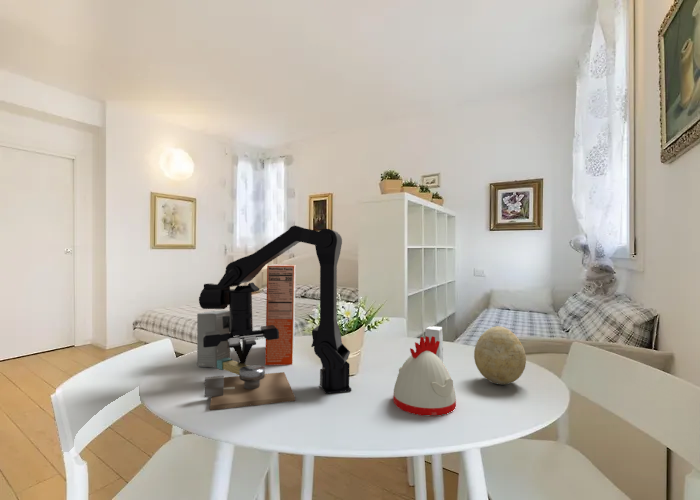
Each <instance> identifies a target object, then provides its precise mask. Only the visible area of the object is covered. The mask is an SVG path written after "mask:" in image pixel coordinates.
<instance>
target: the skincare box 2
mask: <svg viewBox="0 0 700 500" xmlns="http://www.w3.org/2000/svg"><path fill="white" fill-rule="evenodd" d="M424 335H425V337H426V336H427V337H429V341H431V337H432V336H433V337H435V343H436V341H440V344H439V347H438V350H437V353H436V356H438V357H439V358H440V360H441V361H442V362H443V363H444V347H443V346H444V345H443V344H444V343H443V342H444V340H443V338H444V337H443V326H435V325H433V326H432V325H430V326H428V327H426V328H425V334H424Z"/></svg>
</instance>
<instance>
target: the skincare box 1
mask: <svg viewBox="0 0 700 500" xmlns="http://www.w3.org/2000/svg"><path fill="white" fill-rule="evenodd" d="M196 314H197V315H196V316H197V318H196V319H197V322H196V323H197V325H196V326H197V328H196V329H197V333H196V335H197V337H196V338H197V339H196V341H197V342H196V343H197V344H196V346H197V347H196V351H197V355H196V356H197V358H196V361H197V362H196V364H197V367H204V368H215V369H217V360H218V359H223V358H230V359H231V348H229V346H228V341H221V342H220V344H219V345H218V346H215V347H206V348H205V347H203V334H204V333H205V332H212V331H219V333H220V334H227V333H230V332H229V328H226V329H223V321H222V317H223V316H230V312H229V310H211V311H203V312H198V313H196Z"/></svg>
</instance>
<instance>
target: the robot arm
mask: <svg viewBox="0 0 700 500" xmlns="http://www.w3.org/2000/svg"><path fill="white" fill-rule="evenodd" d="M299 243H304V244H309V245H312V246H315V252H316V257H317V259H318V262H319V268H320V269H319V283H320V284H319V324H318V325H317V326H316V327H315V328H313V329H312V330H311V335H312V343H311V348H313V350H314V354H315V355H316V356H317V357H318V358H319V359H320V363H321V365H322V366H321V368H320V370H319V386H320V387H321V389H323V392H325V394H335V393H344V392H352V387H351V386H350V363H349V362H348V361H347V360H348V359H349V357H350V355H351V351H350V350H349V348H347V347H346V345H345V344H344V343H343V341H342V336H341V335H342V334H341V330H340V326H339V323H338V319H337V317H338V316H337V315H338V312H337V309H338V305H337V304H338V303H337V300H338V298H337V297H338V296H337V294H338V291H337V288H338V287H337V283H338V281H337V280H338V274H337V273H338V269H337V268H338V267H337V266H338V263H339V259H340V255H341V249H342V244H343V239H342V236H341V234H340V233H339V232H337V231H335V230H333V229H331V228H322V229H320V230H315V229H309V228H304V227H301V226H299V225H292V226H290V227H289V228H288V229H287V230H286V231H285V232H283V233H281V234H280V235H279V236H277V237H275V238H274V239H273V240H271V241H270V242H268V243H267V244H265V245H264V246H263V247H261V248H260V249H258V250H257V251H255V252H254V253H251V254H248V255H247V256H243V257H241V258H238V259H236V260H234V261H231V262H229V264H227V265H226V266H225V272H224V275H223V276H222V277H221V279H220V280H219V282H218V283H204V284H203V289H202V290H201V291H200V294H199V297H198V302H199V307H200V308H201V309H203V310H225V309H227V307H228V306H229V310H228V311H229V312H230V316H223V317H222V321H223V329H226V328H229V332H230V333H227V334H220V333H219V331H212V332H205V333H204V334H203V347H205V348H206V347H215V346H218V345H219V344H220V342H221V341H228V346H229V348H230V349H233V350H234V352H235V353H236V355H237V358H238V362H239V363H243V364H246V362H247V359H248V355H249V354H250V352H251V349H252V347H253V346H255V345H257V342H256V339H257V338H264V339H265V340H266V339H267V340H273V339H279V330H278V329H277V328H276V327H275V326H274V325H269V326H266V325H261V326H260V329H256V330H254V329H253V327H254V325H253V299H252V298H253V293H255V292H259V291H260V287H258V286H257V285H255V282H253V279H254V278H255V277H256V276H257V275H258V274H260V272H261V271H262V269H263V268H264V267H265V266H267V265H268V264H269V263H271V262H272V261H274V260H276V259H277V258H278V257H280V256H281V255H282V254H284V253H286V252H287V251H288V250H290V249H292V248H293V247H294V246H297V244H299ZM250 281H252V282H250ZM243 283H244V284H245V283H248V284H247V285H241V284H243ZM233 287H235V288H233ZM232 288H233V289H232ZM240 340H242V344H241V341H240Z"/></svg>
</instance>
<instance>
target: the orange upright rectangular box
mask: <svg viewBox="0 0 700 500" xmlns="http://www.w3.org/2000/svg"><path fill="white" fill-rule="evenodd" d="M266 267H267V268H266V302H265V303H266V310H265V315H266V316H265V326H269V325H274V326H275V327H276V328H277V329H278V330H279V339H273V340H267V339H266V338H265V353H264V354H265V361H264V365H265V366H283V365H284V366H289V365H291V366H292V365H293V361H294V354H295V353H294V351H295V330H296V329H295V327H296V326H295V323H296V322H295V319H296V317H295V316H296V314H295V313H296V311H295V310H296V271H297V270H296V267H297V265H296V264H284V263H283V264H282V263H281V264H277V263H275V264H269V265H268V264H267V265H266Z"/></svg>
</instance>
